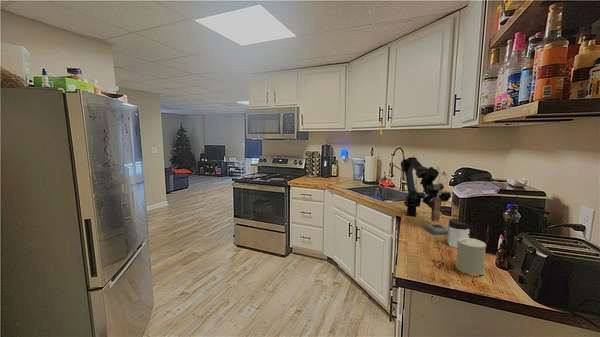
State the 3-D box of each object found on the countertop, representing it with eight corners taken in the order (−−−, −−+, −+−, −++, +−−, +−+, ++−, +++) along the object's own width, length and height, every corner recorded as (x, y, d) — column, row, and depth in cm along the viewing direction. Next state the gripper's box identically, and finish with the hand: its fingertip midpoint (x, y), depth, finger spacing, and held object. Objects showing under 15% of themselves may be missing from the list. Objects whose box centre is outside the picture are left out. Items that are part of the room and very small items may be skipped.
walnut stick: (431, 219, 139) (432, 197, 137) (436, 219, 139) (437, 197, 137) (433, 221, 136) (434, 198, 134) (439, 221, 136) (440, 198, 134)
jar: (471, 246, 118) (472, 221, 117) (465, 251, 113) (466, 225, 112) (450, 240, 125) (451, 217, 124) (444, 244, 120) (445, 221, 119)
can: (452, 263, 102) (454, 235, 101) (478, 266, 100) (481, 237, 98) (459, 274, 94) (461, 244, 92) (488, 278, 91) (490, 247, 89)
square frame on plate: (423, 228, 143) (423, 223, 142) (440, 228, 143) (441, 223, 142) (432, 234, 133) (432, 229, 132) (451, 234, 133) (451, 229, 132)
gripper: (416, 178, 139) (425, 202, 129) (450, 178, 138) (461, 202, 128) (410, 189, 148) (417, 212, 138) (442, 189, 147) (452, 212, 137)
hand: (437, 209), depth 135 cm, fingers closed on walnut stick, 3 cm apart
